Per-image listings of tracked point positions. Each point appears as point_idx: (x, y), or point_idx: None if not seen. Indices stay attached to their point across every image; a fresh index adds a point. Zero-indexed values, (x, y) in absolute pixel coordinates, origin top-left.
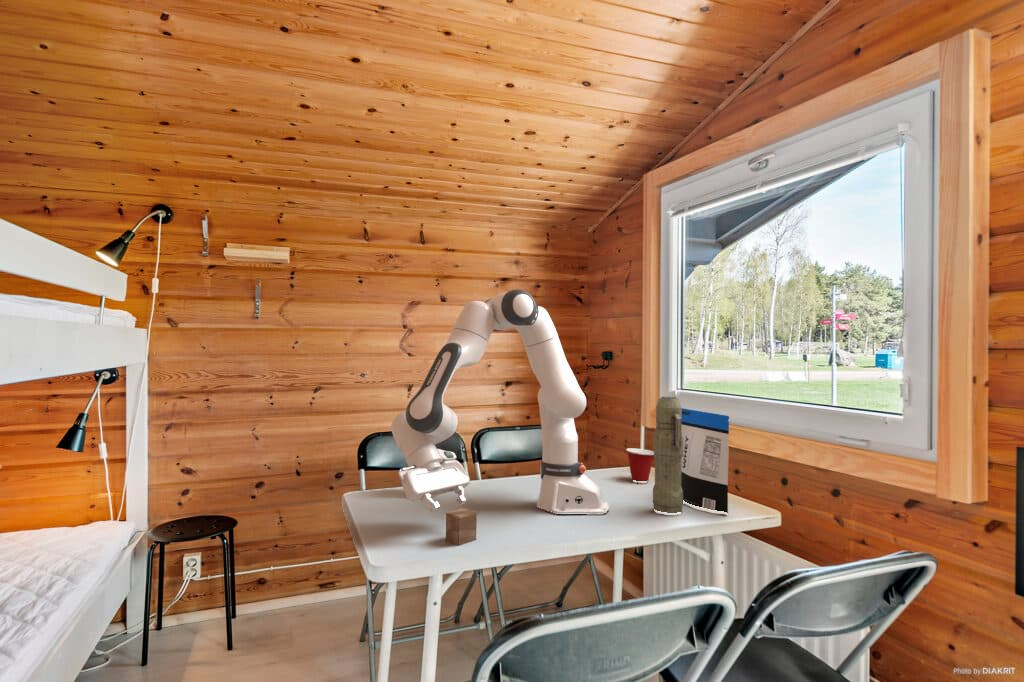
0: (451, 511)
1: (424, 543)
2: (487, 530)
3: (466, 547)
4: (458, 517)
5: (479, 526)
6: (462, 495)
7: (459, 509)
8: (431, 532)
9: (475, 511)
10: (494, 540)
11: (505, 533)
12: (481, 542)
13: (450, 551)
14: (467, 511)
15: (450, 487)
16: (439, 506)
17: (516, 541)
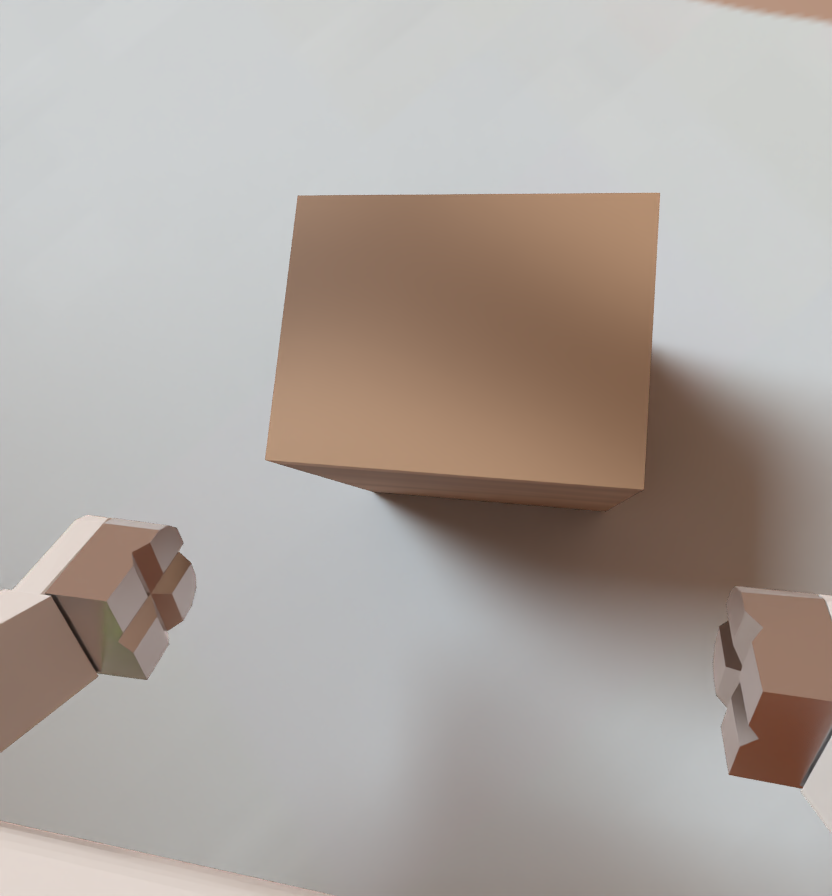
0: (523, 477)
1: None
2: (135, 414)
3: None
4: (658, 218)
5: None
6: (41, 590)
7: (357, 456)
8: (486, 826)
9: (304, 209)
10: None
11: (120, 248)
12: None
13: (792, 283)
14: (371, 291)
15: (84, 844)
16: (755, 590)
17: (232, 61)
